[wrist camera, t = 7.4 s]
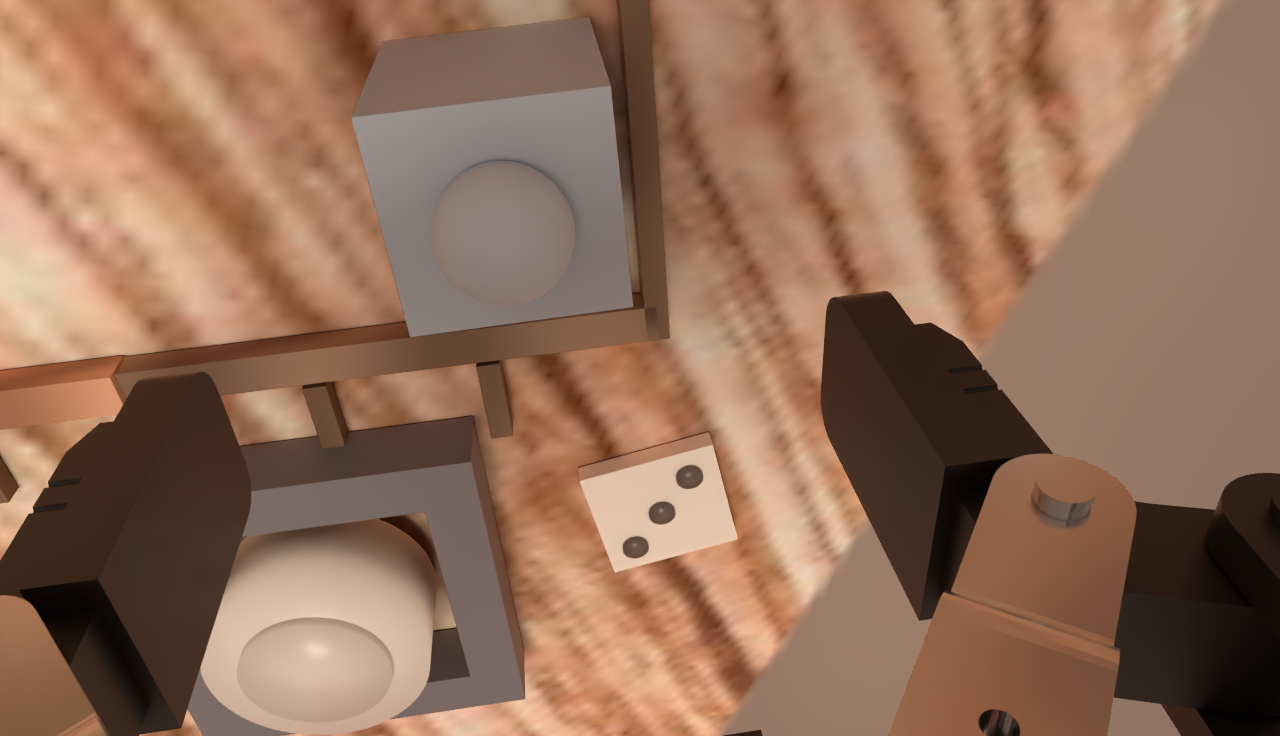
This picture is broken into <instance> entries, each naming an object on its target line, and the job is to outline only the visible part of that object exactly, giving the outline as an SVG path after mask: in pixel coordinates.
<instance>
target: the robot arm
mask: <svg viewBox="0 0 1280 736" xmlns="http://www.w3.org/2000/svg"><path fill="white" fill-rule="evenodd" d="M821 407H822V415H823V420H824V425H825V428H826V432H827V435H828V437H829V440H830V442H831V444H832V446H833V448H834V450H835V452H836V454H837V456H838V458H839V460H840V462H841V464H842V466H843V468H844V470H845V472H846V474H847V476H848V478H849V480H850V482H851V484H852V486H853V488H854V490H855V492H856V494H857V496H858V498H859V500H860V502H861V504H862V506H863V508H864V510H865V512H866V514H867V516H868V518H869V520H870V522H871V524H872V526H873V528H874V530H875V532H876V534H877V536H878V538H879V540H880V542H881V544H882V547H883V548H884V551H885V552H886V554H887V557H888V559H889V560H890V563H891V565H892V566H893V569H894V571H895V572H896V575H897V576H898V579H899V581H900V583H901V585H902V587H903V589H904V591H905V593H906V595H907V597H908V599H909V601H910V603H911V605H912V607H913V609H914V611H915V613H916V615H917V617H918V619H919V621H920V620H927V619H932V621H931V623H930V626H929V629H928V631H927V634H926V636H925V639H924V642H923V644H922V647H921V649H920V652H919V655H918V657H917V660H916V663H915V666H914V668H913V671H912V673H911V676H910V679H909V681H908V684H907V686H906V690H905V692H904V694H903V697H902V700H901V702H900V705H899V707H898V710H897V713H896V715H895V718H894V721H893V724H892V726H891V729H890V731H889V734H888V736H1107V733H1108V727H1109V721H1110V715H1111V709H1112V703H1113V698H1114V697H1115V698H1122V699H1129V700H1137V701H1144V702H1151V703H1159V704H1161V705H1162V706H1163V708H1164V709H1165V711H1166V712H1167V714H1168V716H1169V717H1170V719H1171V720H1172V722H1173V724H1174V725H1175V727H1176V728H1177V729H1178V731H1179V733H1180V734H1181V736H1280V474H1275V473H1257V474H1251V475H1246V476H1243V477H1239V478H1237V479H1235V480H1234V481H1232V482H1230V483H1229V484H1228V485H1227V486H1226V487H1225V489H1224V491H1223V493H1222V495H1221V497H1220V500H1219V502H1218V505H1217V507H1216V510H1211V509H1200V508H1190V507H1179V506H1168V505H1157V504H1149V503H1142V502H1136V501H1134V500H1133V498H1132V496H1131V494H1130V492H1129V491H1128V490H1127V489H1126V487H1125V486H1124V485H1123V484H1122V483H1120V481H1118V480H1117V479H1116V478H1115V477H1114V476H1112V475H1111V474H1109V473H1108V472H1106V471H1104V470H1103V469H1101V468H1099V467H1097V466H1095V465H1093V464H1090V463H1088V462H1086V461H1082V460H1079V459H1076V458H1073V457H1068V456H1062V455H1056V454H1053V453H1052V452H1051V450H1050V449H1049V448H1048V447H1047V445H1046V444H1045V443H1044V442H1043V441H1042V439H1041V438H1040V437H1039V436H1038V434H1037V433H1036V432H1035V431H1034V429H1033V428H1032V427H1031V426H1030V424H1029V423H1028V422H1027V421H1026V420H1025V418H1024V417H1023V416H1022V414H1021V413H1020V412H1019V411H1018V410H1017V408H1016V407H1015V406H1014V405H1013V403H1012V402H1011V401H1010V400H1009V398H1008V397H1007V396H1006V395H1005V393H1004V392H1003V391H1002V390H998V388H997V384H996V382H995V381H994V380H993V378H992V377H991V376H990V375H989V374H988V373H987V371H986V370H982V365H981V364H980V362H979V361H978V360H977V359H976V357H975V356H974V355H973V354H972V352H971V351H970V350H969V349H968V347H967V346H966V345H965V344H964V342H963V341H961V340H959V339H958V338H956V337H954V336H953V335H951V334H949V333H948V332H946V331H944V330H942V329H941V328H939V327H937V326H936V325H934V324H932V323H924V324H916V325H914V323H913V322H912V321H911V319H910V318H909V317H908V315H907V314H906V313H905V311H904V310H903V309H902V307H901V306H900V305H899V303H898V302H897V301H896V299H895V298H894V297H893V295H892V294H891V293H889V292H888V291H882V292H874V293H866V294H857V295H849V296H841V297H833V298H831V299H830V301H829V303H828V306H827V311H826V323H825V338H824V353H823V368H822V384H821ZM48 484H49V488H44V490H43V491H42V493H41V495H40V496H39V498H38V500H37V501H36V503H35V504H34V506H33V510H34V512H33V513H32V514H28V516H27V518H26V519H25V521H24V523H23V524H22V526H21V527H20V529H19V531H18V532H17V534H16V536H15V537H14V539H13V541H12V542H11V544H10V546H9V547H8V549H7V550H6V552H5V554H4V555H3V557H2V559H1V560H0V736H139V734H145V733H152V732H159V731H166V730H172V729H179V728H181V727H182V724H183V721H184V718H185V714H186V711H187V708H188V705H189V702H190V699H191V696H192V692H193V689H194V686H195V683H196V680H197V677H198V674H199V670H200V667H201V664H202V661H203V658H204V655H205V652H206V648H207V645H208V642H209V639H210V636H211V633H212V630H213V626H214V623H215V620H216V617H217V614H218V611H219V607H220V604H221V601H222V598H223V595H224V592H225V589H226V585H227V582H228V579H229V576H230V573H231V570H232V567H233V563H234V560H235V557H236V554H237V551H238V548H239V545H240V541H241V538H242V535H243V532H244V529H245V526H246V523H247V519H248V516H249V512H250V507H251V482H250V476H249V471H248V468H247V465H246V462H245V459H244V457H243V454H242V451H241V449H240V446H239V444H238V441H237V439H236V436H235V433H234V431H233V428H232V426H231V423H230V420H229V418H228V415H227V413H226V410H225V408H224V405H223V402H222V400H221V397H220V395H219V392H218V390H217V387H216V385H215V383H214V381H213V379H212V378H211V377H210V376H209V375H208V374H207V373H205V372H193V373H184V374H176V375H168V376H159V377H151V378H143V379H140V380H138V381H137V382H136V384H135V385H134V387H133V388H132V390H131V392H130V394H129V395H128V397H127V399H126V401H125V403H124V404H123V406H122V408H121V410H120V411H119V413H118V415H117V417H116V418H115V420H114V422H106V423H100V424H99V425H97V426H96V427H95V428H94V429H93V430H92V431H90V432H89V433H88V434H87V435H86V436H84V437H83V438H82V439H81V440H80V441H79V442H77V443H76V444H75V445H74V446H73V447H72V448H70V449H69V450H68V451H67V452H66V453H65V455H64V457H63V458H62V460H61V462H60V463H59V465H58V467H57V468H56V470H55V472H54V473H53V475H52V476H51V478H50V480H49V481H48ZM725 736H762V733H761V730H756V731H750V732H744V733H738V734H731V735H725Z"/></svg>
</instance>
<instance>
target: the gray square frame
mask: <svg viewBox="0 0 1280 736" xmlns="http://www.w3.org/2000/svg"><path fill="white" fill-rule="evenodd" d="M240 449H241V451H242V454H243V457H244V459H245V462H246V465H247V468H248V471H249V476H250V482H251V507H250V512H249V516H248V519H247V523H246V526H245V529H244V532H243V535H242V537H246V536H253V535H260V534H268V533H275V532H282V531H290V530H297V529H304V528H311V527H319V526H326V525H333V524H341V523H348V522H355V521H363V520H370V519H377V518H385V517H392V516H399V515H407V514H414V513H421V512H425V514H426V518H427V521H428V525H429V529H430V532H431V536H432V540H433V543H434V547H435V550H436V554H437V558H438V561H439V565H440V568H441V572H442V576H443V579H444V583H445V586H446V590H447V594H448V597H449V601H450V605H451V608H452V612H453V615H454V619H455V623H456V626H457V628H455V629H448V630H441V631H435V632H433V638H432V650H431V663H430V672H429V677H428V680H427V683H426V685H425V687H424V689H423V691H422V692H421V694H420V695H419V697H418V698H417V699H416V700H415V701H414V702H413V703H412V704H411V705H410V706H409V707H407V708H406V709H405V710H404V711H402V712H401V713H399V714H398V715H396V716H395V717H393V718H391V719H395V718H402V717H408V716H415V715H422V714H428V713H435V712H442V711H448V710H455V709H462V708H468V707H475V706H481V705H488V704H495V703H501V702H508V701H515V700H521V699H525V671H524V647H523V642H522V638H521V633H520V628H519V624H518V619H517V615H516V610H515V606H514V601H513V596H512V592H511V587H510V583H509V578H508V574H507V569H506V564H505V560H504V555H503V551H502V546H501V542H500V537H499V532H498V528H497V523H496V519H495V514H494V510H493V505H492V500H491V496H490V491H489V487H488V482H487V478H486V473H485V469H484V464H483V459H482V455H481V450H480V446H479V441H478V437H477V432H476V427H475V423H474V418H473V416H470V417H462V418H454V419H447V420H439V421H431V422H424V423H416V424H408V425H401V426H393V427H385V428H378V429H370V430H362V431H355V432H348V435H347V439H346V444H345V446H341V447H333V448H326V449H322V446H321V443H320V440H319V437H318V436H317V437H309V438H301V439H294V440H286V441H278V442H271V443H263V444H255V445H248V446H240ZM187 709H188V710H189V712H190V714H191V716H192V717H193V719H194V721H195V723H196V724H197V726H198V728H199V730H200V731H201V733H202V735H203V736H282V735H289V734H295V733H288V732H283V731H279V730H274V729H271V728H267V727H264V726H261V725H258V724H256V723H253V722H251V721H249V720H247V719H245V718H243V717H241V716H239V715H237V714H236V713H234V712H232V711H231V710H229V709H228V708H227V707H225V706H224V705H223V704H222V703H221V702H219V701H218V700H217V698H216V697H215V696H214V695H213V694H212V693H211V692H210V690H209V688H208V687H207V685H206V684H205V682H204V679H203V677H202V675H201V670H199V674H198V677H197V680H196V683H195V686H194V689H193V692H192V696H191V699H190V702H189V705H188V708H187Z"/></svg>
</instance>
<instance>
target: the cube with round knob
mask: <svg viewBox="0 0 1280 736" xmlns="http://www.w3.org/2000/svg"><path fill="white" fill-rule="evenodd" d="M351 119H352V123H353V127H354V130H355V134H356V138H357V142H358V145H359V149H360V153H361V156H362V160H363V164H364V168H365V171H366V175H367V179H368V182H369V186H370V190H371V194H372V197H373V201H374V205H375V208H376V212H377V216H378V220H379V223H380V227H381V231H382V235H383V238H384V242H385V246H386V249H387V253H388V257H389V261H390V264H391V268H392V272H393V275H394V279H395V283H396V287H397V290H398V294H399V298H400V301H401V305H402V309H403V313H404V316H405V320H406V324H407V327H408V331H409V335H410V337H416V336H423V335H431V334H438V333H445V332H453V331H460V330H468V329H475V328H482V327H490V326H497V325H505V324H512V323H519V322H527V321H534V320H541V319H549V318H556V317H564V316H571V315H578V314H586V313H593V312H601V311H608V310H615V309H623V308H630V307H633V299H632V289H631V279H630V270H629V260H628V250H627V240H626V230H625V220H624V211H623V201H622V191H621V181H620V171H619V162H618V152H617V142H616V132H615V122H614V112H613V103H612V93H611V85H610V82H609V79H608V75H607V72H606V69H605V66H604V63H603V59H602V56H601V53H600V50H599V47H598V43H597V40H596V37H595V34H594V31H593V28H592V24H591V21H590V18H589V17H582V18H574V19H565V20H557V21H548V22H540V23H532V24H523V25H515V26H506V27H498V28H489V29H481V30H472V31H464V32H455V33H447V34H439V35H430V36H422V37H413V38H405V39H396V40H388V41H382V44H381V46H380V49H379V51H378V53H377V56H376V58H375V61H374V63H373V66H372V68H371V70H370V73H369V75H368V78H367V80H366V83H365V85H364V87H363V90H362V92H361V95H360V97H359V99H358V102H357V104H356V107H355V109H354V112H353V114H352V116H351Z"/></svg>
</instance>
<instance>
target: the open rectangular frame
mask: <svg viewBox="0 0 1280 736" xmlns="http://www.w3.org/2000/svg"><path fill="white" fill-rule="evenodd" d="M617 7H618V19H619V32H620V44H621V56H622V69H623V81H624V93H625V106H626V118H627V131H628V143H629V155H630V168H631V180H632V192H633V205H634V217H635V230H636V242H637V254H638V267H639V279H640V291H641V293H637V294H632V299H633V307H630V308H623V309H615V310H608V311H601V312H593V313H586V314H578V315H571V316H564V317H556V318H549V319H541V320H534V321H527V322H519V323H512V324H505V325H497V326H490V327H482V328H475V329H468V330H460V331H453V332H445V333H438V334H431V335H423V336H416V337H410V335H409V331H408V327H407V324H406V322H403V323H395V324H387V325H379V326H370V327H362V328H354V329H346V330H338V331H330V332H322V333H314V334H306V335H298V336H290V337H282V338H273V339H265V340H257V341H249V342H241V343H233V344H225V345H217V346H209V347H201V348H193V349H185V350H177V351H168V352H160V353H152V354H144V355H136V356H128V357H124V355H122V356H114V357H106V358H98V359H90V360H82V361H74V362H66V363H57V364H49V365H41V366H33V367H25V368H17V369H9V370H1V371H0V430H1V429H9V428H17V427H25V426H32V425H40V424H48V423H56V422H64V421H72V420H80V419H87V418H95V417H103V416H111V415H118V413H119V411H120V410H121V408H122V406H123V404H124V403H125V401H126V399H127V397H128V395H129V394H130V392H131V390H132V388H133V387H134V385H135V384H136V382H137V381H138V380H140V379H143V378H151V377H159V376H168V375H176V374H184V373H193V372H205V373H207V374H208V375H209V376H210V377H211V378H212V379H213V381H214V383H215V385H216V387H217V390H218V392H219V395H228V394H236V393H244V392H252V391H260V390H268V389H276V388H283V387H291V386H299V385H303V387H302V391H303V394H304V396H305V399H306V402H307V405H308V408H309V411H310V414H311V417H312V420H313V423H314V425H315V428H316V431H317V434H318V437H319V440H320V443H321V446H322V449H326V448H333V447H341V446H345V444H346V439H347V435H348V431H347V428H346V424H345V421H344V418H343V415H342V412H341V409H340V406H339V403H338V399H337V396H336V393H335V390H334V387H333V384H332V381H338V380H346V379H354V378H362V377H370V376H378V375H386V374H394V373H401V372H409V371H417V370H425V369H433V368H441V367H449V366H456V365H464V364H472V363H477V364H476V368H477V372H478V377H479V382H480V387H481V392H482V396H483V401H484V406H485V411H486V416H487V420H488V425H489V430H490V435H491V438H498V437H506V436H513V421H512V416H511V410H510V405H509V400H508V395H507V389H506V384H505V379H504V373H503V368H502V363H501V360H504V359H512V358H519V357H527V356H535V355H543V354H551V353H559V352H567V351H574V350H582V349H590V348H598V347H606V346H614V345H622V344H630V343H637V342H645V341H653V340H661V339H669V338H670V333H669V317H668V301H667V285H666V269H665V253H664V237H663V221H662V204H661V188H660V172H659V156H658V140H657V124H656V108H655V92H654V76H653V60H652V43H651V27H650V11H649V0H617ZM18 488H19V487H18V486H17V484H16V482H15V481H14V479H13V477H12V476H11V474H10V472H9V471H8V469H7V467H6V466H5V464H4V462H3V461H2V459H1V458H0V503H7V502H9V501H10V500H11V498H12V497H13V495H14V494H15V492H16V491H17V489H18Z"/></svg>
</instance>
